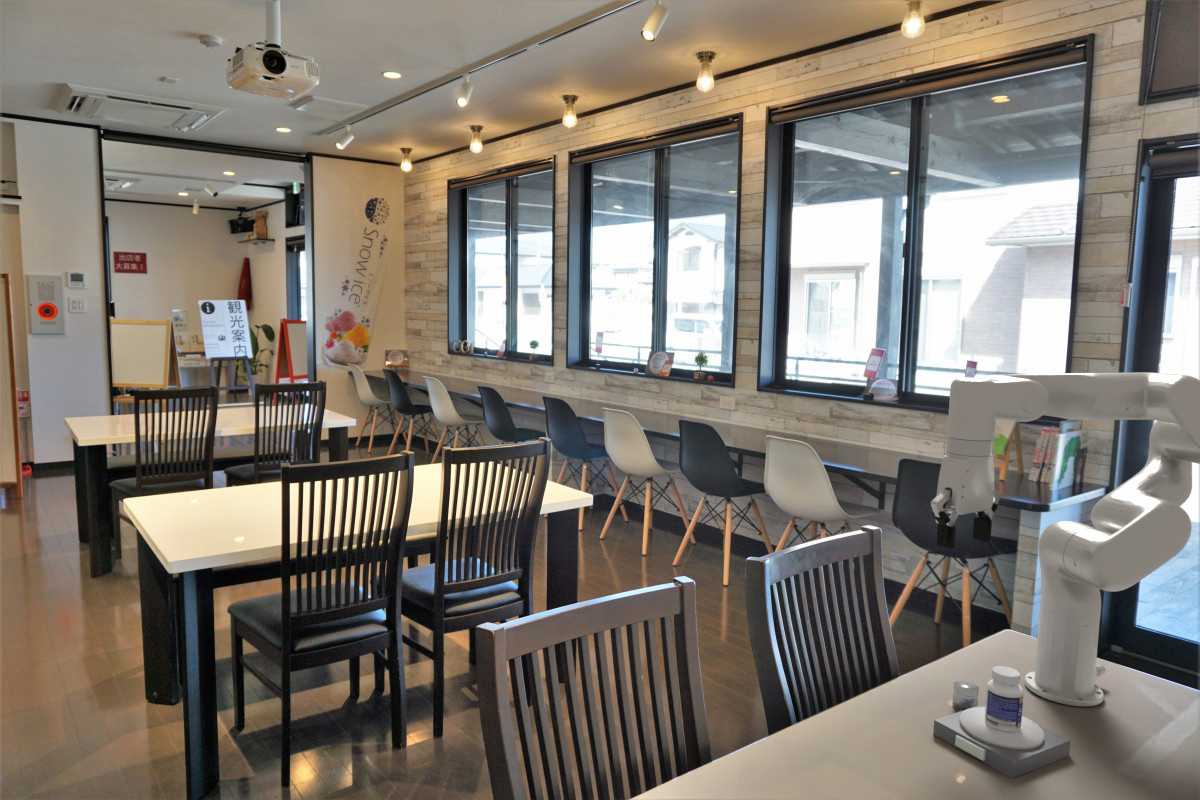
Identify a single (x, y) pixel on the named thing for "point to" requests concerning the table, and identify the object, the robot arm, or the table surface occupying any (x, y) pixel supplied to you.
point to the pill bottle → (1004, 700)
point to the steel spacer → (965, 695)
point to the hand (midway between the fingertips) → (963, 543)
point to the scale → (1002, 742)
